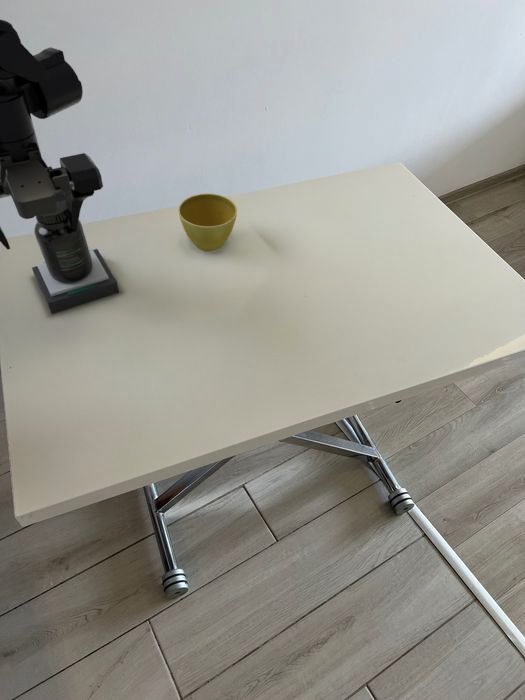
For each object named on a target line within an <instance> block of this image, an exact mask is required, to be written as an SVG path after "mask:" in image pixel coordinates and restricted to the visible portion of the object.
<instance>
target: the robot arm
mask: <svg viewBox="0 0 525 700" xmlns="http://www.w3.org/2000/svg"><path fill="white" fill-rule="evenodd" d="M83 91H84V90H83V84H82V82H81V80H79V76H78V74H77V72H76V71H75V69H74V68H73V67H72V66H71V64H69V63H68V61H66V60H65V55H64V51H62V50H60V49H58V48H54V47H51V46H50V47H48V48H45V49H43V50H42V51H40V52H38V53H36V54H34V55H33V54H32V53H31V52H30V51H29V49H27V47H25V45H23V43H22V40H21V38H20V36H19V34H18V32H17V30H16V29H15V28H14V26H13V24H12V23H10V22H9V21H7V20H4V19H0V199H3V198H7V197H11V200H12V202H13V205H14V206H15V209H16V211H17V213H18V216H19V217H20V218H22V219H24V220H30V219H34V218H36V216H38V215H43V214H47V213H49V214H51V213H55V212H56V211H58V209H59V205H58V202H59V201H63V200H65V202H66V207H67V213H68V219H69V222H70V226H71V229H72V231H73V232H76V231H77V226H78V220H80V215H81V210H82V206H83V204H84V201H85V200H87V198H89V197H92V196H94V195H95V191H100V190H102V188H104V183H103V178H102V174H101V172H100V169H99V167H98V166H97V165H96V164H95V162H94V161H93V160H92V158H91V157H90V156H89V154H87V153H85V152H83V153H82V152H81V153H77V154H74V155H73V154H72V155H67V156H63V157H59V165H60V167H56V168H53V167H52V166H48V164H47V163H46V162H45V161H44V159H43V157H42V153H41V148H40V145H39V141H38V138H37V133H36V130H35V125H34V122H33V119H32V116H34V117H35V118H37V119H38V120H39V119H40V120H45V119H48V118H50V117H52V116H54V115H56V114H58V113H60V112H62V111H65V110H66V109H69V108H71V107H73V106H75V105H77V104H79V103H80V102H81V101H82V98H83V95H84V93H83ZM0 244H1V245H3V246H4V248H5V249H6V250H11V246H10V244H9V241H8V238H7V236H6V234H5V232H4V230H3V228H2V226H1V225H0Z"/></svg>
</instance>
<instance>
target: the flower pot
mask: <svg viewBox="0 0 525 700" xmlns="http://www.w3.org/2000/svg"><path fill="white" fill-rule="evenodd" d="M237 215H238V208H237V205H236V204H235V202H234V201H232V200H231V199H230V198H228V197H226V196H224V195H220V194H216V193H199V194H195V195H194V194H193V195H191V196H189V197H187V198H185V199H184V200H183V201H182V202H181V203H180V204H179V206H178V217H179V220H180V223H181V225H182V228H183V230H184V233H185V234H186V236H187V238H188V239H189V240H190V241H191V243H192V244H193V245H194V247H196V248H197V249H198V250H200V251H202V252H203V251H204V252H215V251H217V250H219V249H221V248H222V247H223V245H224V244H225V243H226V241H227V240H228V239H229V237H230V235H231V234H232V232H233V229H234V226H235V224H236V219H237Z"/></svg>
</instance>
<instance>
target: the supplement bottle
mask: <svg viewBox="0 0 525 700" xmlns="http://www.w3.org/2000/svg"><path fill="white" fill-rule="evenodd" d="M58 205H59V209H58V211H56V212H55V213H51V214H49V213H47V214H43V215H38V216H35V219H36V223H35V225H34V228H33V229H34V231H33V232H34V233H33V234H34V236H35V239H36V242H37V245H38V247H39V249H40V250H39V251H40V253H41V255H42V258H43V260H44V262H45V263H46V266H47V269H48V271H49V273H50V275H51V277H52V278H53V279H54V280H56V281H58V282H61V283H75V282H78V281H81V280H83V279H84V278H86V277H87V276H88V275H89V274H90V273H91V271H92V268H93V263H92V259H91V255H90V252H89V245H88V242H87V238H86V235H85V231H84V227H83V225H82V222H81V220H80V219H79V220H78V226H77V231H76V232H73V231H72V229H71V226H70V222H69V219H68V213H67V207H66V202H65V200H63V201H59V202H58Z"/></svg>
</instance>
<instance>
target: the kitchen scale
mask: <svg viewBox="0 0 525 700" xmlns="http://www.w3.org/2000/svg"><path fill="white" fill-rule="evenodd" d="M89 252H90V255H91V259H92V263H93V268H92V271H91V273H90V274H89V275H88V276H87V277H86V278H84V279H83V280H81V281H78V282H75V283H61V282H58V281H56V280H54V279H53V278H52V277H51V275H50V273H49V271H48V269H47V266H46V263H45V261H44V262H40V263H37V264H36V266H33V267H31V269H32V273H33V275H34V276H33V277H34V278H35V281H36V282H37V283H36V284H37V285H38V288H39V289H40V292H41V294H42V297H43V298H44V301H45V303H46V305H47V307H48V309H49V312H50V314H51V315H54V314H58V313H60V312H63V311H67V310H69V309H73V308H76V307H80V306H82V305H86V304H88V303H92V302H95V301H98V300H100V299H105V298H107V297H110V296H113V295H117V294H119V293H120V290H119V285H118V281H117V279H116V278H115V276H114V274H113V273H112V270H110V269H111V268H109V266H108V265H107V263H106V261H105V259H104V257H103V256H102V254H101V253H100V251H99V249H98V248H95V249H93V248H90V249H89Z"/></svg>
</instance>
